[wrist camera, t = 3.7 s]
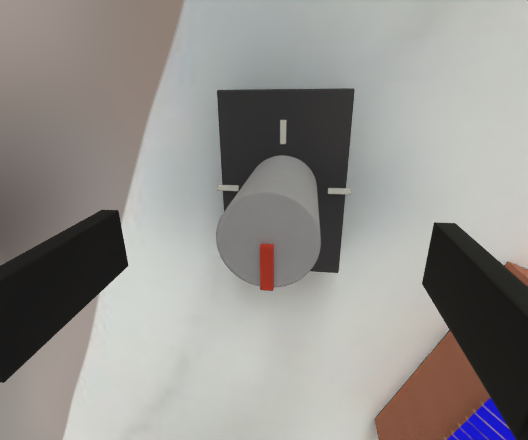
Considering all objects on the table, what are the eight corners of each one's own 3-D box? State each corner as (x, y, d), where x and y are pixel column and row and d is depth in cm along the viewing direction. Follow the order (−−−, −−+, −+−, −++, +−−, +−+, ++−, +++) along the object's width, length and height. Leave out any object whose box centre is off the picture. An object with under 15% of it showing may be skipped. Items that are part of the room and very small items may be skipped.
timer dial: (248, 154, 20) (210, 192, 13) (318, 155, 20) (324, 196, 12) (249, 219, 22) (217, 288, 14) (315, 222, 21) (318, 295, 14)
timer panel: (224, 90, 22) (211, 89, 19) (353, 89, 21) (360, 88, 18) (232, 248, 26) (222, 267, 23) (339, 253, 25) (343, 274, 22)
